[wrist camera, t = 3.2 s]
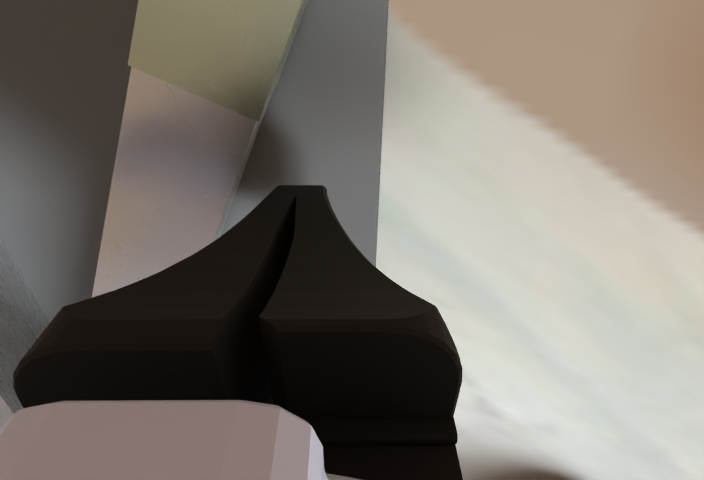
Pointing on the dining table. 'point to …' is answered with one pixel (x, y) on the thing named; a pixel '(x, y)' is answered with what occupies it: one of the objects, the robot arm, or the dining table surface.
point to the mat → (106, 118)
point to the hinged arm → (188, 127)
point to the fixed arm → (15, 328)
